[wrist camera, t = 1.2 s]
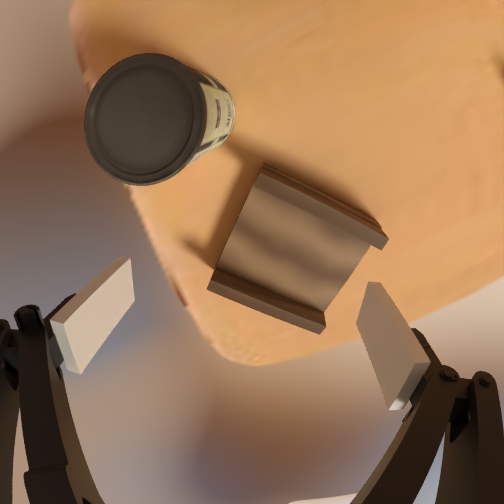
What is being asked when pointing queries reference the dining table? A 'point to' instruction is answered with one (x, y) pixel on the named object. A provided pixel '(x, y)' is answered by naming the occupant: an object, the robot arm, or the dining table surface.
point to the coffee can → (155, 118)
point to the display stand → (292, 250)
